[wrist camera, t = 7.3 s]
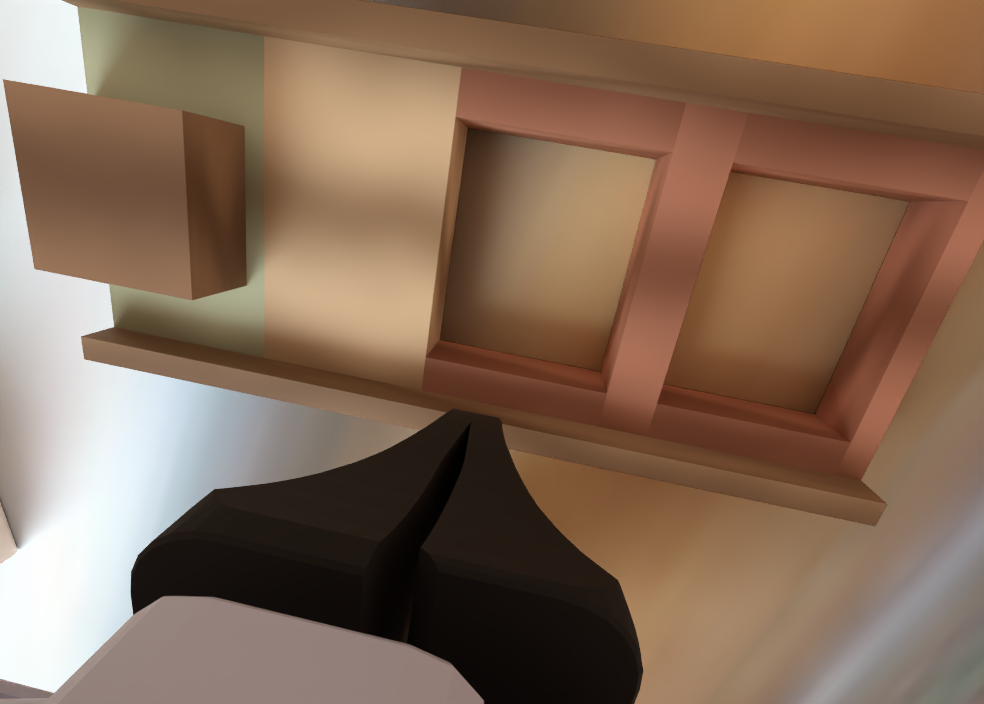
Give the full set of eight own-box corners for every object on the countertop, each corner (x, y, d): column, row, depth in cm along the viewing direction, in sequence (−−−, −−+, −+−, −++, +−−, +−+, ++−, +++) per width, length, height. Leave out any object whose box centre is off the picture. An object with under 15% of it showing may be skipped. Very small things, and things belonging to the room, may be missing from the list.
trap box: (816, 467, 21) (875, 526, 17) (161, 333, 23) (84, 358, 19) (972, 133, 16) (1101, 111, 12) (136, 3, 18) (26, -50, 14)
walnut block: (246, 285, 19) (192, 300, 16) (111, 259, 19) (34, 268, 16) (244, 126, 17) (181, 110, 14) (93, 100, 17) (3, 79, 14)
